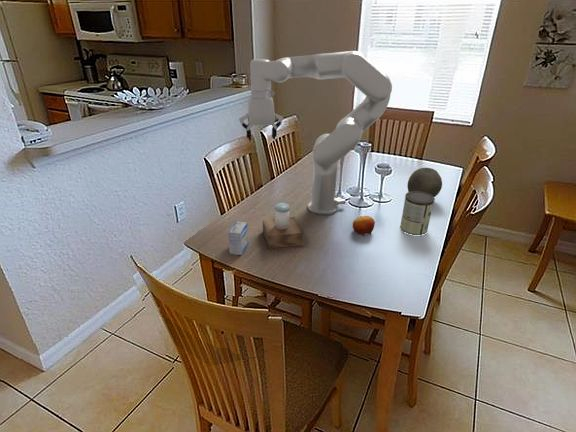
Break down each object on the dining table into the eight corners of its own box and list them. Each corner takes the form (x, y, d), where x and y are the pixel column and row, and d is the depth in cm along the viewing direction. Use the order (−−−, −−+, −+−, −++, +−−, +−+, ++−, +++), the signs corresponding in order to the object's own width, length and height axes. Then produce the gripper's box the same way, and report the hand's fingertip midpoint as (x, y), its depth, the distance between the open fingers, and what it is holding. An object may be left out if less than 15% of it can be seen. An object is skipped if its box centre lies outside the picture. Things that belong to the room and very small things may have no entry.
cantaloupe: (403, 203, 163) (409, 171, 156) (406, 191, 175) (412, 161, 168) (437, 210, 159) (444, 177, 152) (438, 197, 170) (445, 166, 163)
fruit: (364, 238, 134) (359, 217, 134) (352, 239, 141) (347, 219, 141) (381, 233, 138) (377, 212, 137) (369, 234, 145) (364, 214, 145)
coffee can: (400, 221, 149) (406, 189, 143) (427, 225, 146) (434, 193, 140) (398, 233, 141) (404, 200, 134) (427, 238, 138) (434, 204, 131)
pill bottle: (287, 221, 137) (287, 202, 133) (290, 228, 132) (291, 208, 129) (273, 223, 136) (273, 203, 132) (276, 230, 131) (276, 210, 127)
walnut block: (293, 228, 143) (294, 216, 140) (301, 244, 132) (302, 232, 130) (262, 231, 140) (262, 219, 138) (268, 248, 130) (268, 236, 128)
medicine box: (242, 255, 126) (240, 233, 122) (229, 254, 127) (227, 232, 123) (248, 243, 133) (247, 222, 129) (236, 242, 133) (235, 220, 129)
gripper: (281, 92, 145) (280, 135, 153) (236, 93, 142) (238, 137, 150) (285, 95, 139) (284, 140, 147) (239, 97, 135) (241, 143, 143)
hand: (261, 139), depth 148 cm, fingers open, 9 cm apart
